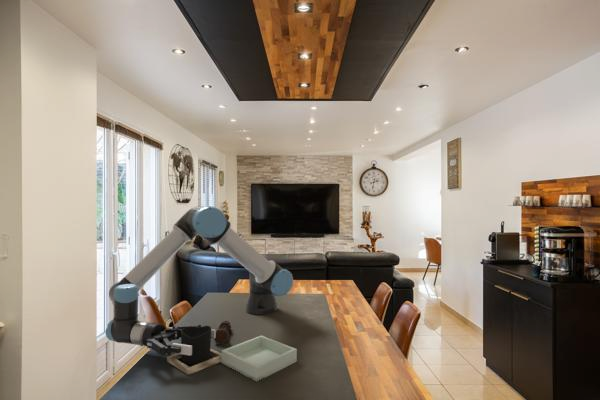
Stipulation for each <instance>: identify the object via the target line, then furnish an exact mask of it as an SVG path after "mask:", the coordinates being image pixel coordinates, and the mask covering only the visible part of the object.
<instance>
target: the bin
mask: <svg viewBox="0 0 600 400" xmlns="http://www.w3.org/2000/svg"><path fill="white" fill-rule="evenodd" d="M297 352H298V349H297V348H295V347H293V346H290V345H287V344H285V343H282V342H280V341H277V340H274V339H272V338H270V337H266V336H264V335H259V336H255V337H254V338H250V339H248V340H245V341H243V342H240V343H238V344H234V345H233V346H231V347H227V348H225V349H222V350H221V362H220V363H221V365H225V366H226V367H228V368H230V369H231V368H232V370H233V369H234V370H233V371H235V370H236V372H237V371H238V373H239V372H240V374H241V375H242V376H244V377H247V378H248V379H250V378H251V380H252V381H255V382H259V380H260V381H261V379H262V380H264V379H266V378H267V377H269V376H271V375H273V374H275V373H277V372H279V371H281V370H283V369H285V368H287V367H289V366H290V365H292V364H295V363H296V362H297V361H298V359H297V357H298V353H297ZM263 378H264V379H263Z"/></svg>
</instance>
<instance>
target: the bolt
mask: <svg viewBox="0 0 600 400" xmlns="http://www.w3.org/2000/svg"><path fill="white" fill-rule="evenodd" d="M231 329H232V325H231V322H230V321H228V320H224V321H222V322H220V325H219V327H218V328H217V329H216V338H213V340H214V342H215V343H216V344H219V345H221V344H223V343H224V344H226V343H227V341H228V340H229V338H230V334H229V332H230V331H231ZM224 344H223V345H224Z"/></svg>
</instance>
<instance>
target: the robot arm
mask: <svg viewBox="0 0 600 400" xmlns="http://www.w3.org/2000/svg"><path fill="white" fill-rule="evenodd" d="M231 224H232V223H231V222H230V221H229V220H228V219H227V218H226V215H225V214H224V212H222V210H220V208H218V207H215V206H209V205H206V206H201V205H200V206H199V205H198V206H193V207H191V208H190V209H189V210H187V211H185V212H184V214H182V216H181V217H180V218H179V219H178V220H177V221H176V223H174V224H173V225H172V229H171V231H170V232H168V233H167V234H166V236H164V238H162V240H161V241H159V243H157V244H156V245H155V246H154V247H153V248H152V250H150V251H149V252H148V253H147V254H146V255H145V256H144V257H143V258H142V259H141V260H140V261H139V262H138V263H137V264H136V265H135V266H134V267H133V268H132V269H131V270H130V271H129V272H128V273H127V274H126V275H124V277H122V278H121V279H120V281H118V282H115V283H114V284H112V286H110V288H109V291H108V298H109V300H110V301H111V304H112V306H113V319H111V320H110V321H109V322H108V324H107V328H105V336H106V338H107V339H108V340H110V341H111V342H116V343H119V344H120V343H121V344H128V345H129V344H131V345H137V346H140V347H143V346H144V347H146V348H147V349H152V350H153V351H154V352H156V353H157V354H158V355H160V356H161V357H164V356H166V357H167V356H171V355H172V353H173V354H176V353H177V354H183V355H190V356H191V355H192V346H191V345H184V344H181V343H176V342H173V343H171V342H172V341H176V340H179V339H181V330H182V329H183V328H185V327H188V326H193V327H202V324H194V325H193V324H189V325H172V328H166V327H165V325H163V324H162V323H159V322H151V321H143V320H138V319H139V313H138V311H139V296H140V294H139V291H140V290H141V289H142V288H143V287H144V286H145V285H146V284H147V282H149V281H150V280H151V279H152V278H153V277H154V275H156V274H157V273H158V272H159V270H160V269H162V267H163V266H164V265H165V264H166V263H167V262H168V261H170V259H171V258H172V257H173V256H174V255H176V253H177V252H178V251H179V250H180V249H181V248H182V247H183V246H184V245H185V244H186V243H187V242H192V241H193V240H194V238H196V237H197V236H200V237H201V239H203V240H205V242H207V243H208V244H209V245H211V246H214V245H217V246H218V247H219V248H220V249H222V250H223V251H224V252H225V253H226V254H227V255H229V256H230V257H231V258H233V259H234V260H235V261H237V263H239V264H240V265H241V266H242V267H244V269H246V270H247V271H248V272H249V277H248V278H249V280H248V281H249V294H248V296H247V300H246V304H245V312H247V313H248V314H252V315H268V314H269V315H270V314H273V313H275V312H277V310H278V303H277V299H276V297H283V296H286V295H287V294H288V293H289V292H290V291H291V290H292V287H293V285H294V277H293V274H292V272H291V271H289V270H288V269H287V268H282V267H281V265H279V264H278V263H277V262H275V260H273V259H272V260H268V259H267V258H265V256H263V255H262V254H261V253H260V252H259V251H258V250H257V249H256V248H254V247H253V246H252V245H251V244H250V243H248V242H247V241H246V240H245V239H244V238H243V237H241V235H239V233H237V232H236V231H235V230H233V229H232V228H231V227H232V225H231ZM275 296H276V297H275ZM216 331H217V329H213V328H211V339H214V338H216Z"/></svg>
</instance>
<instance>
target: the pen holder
mask: <svg viewBox="0 0 600 400" xmlns="http://www.w3.org/2000/svg"><path fill="white" fill-rule="evenodd" d="M187 326H188V325H187ZM211 329H212V327H211V326H210V325H203V326H201V327H193V326H188V327H185V328H183V329H182V330H181V337H180V344H184V345H191V346H192V355H191V356H190V355H183V354H182V358H181V362H182V363H184V364H186V365H187V366H189V367H192V366H194V365H197V364H199V363H202V362H204V361H207V360H209V359H211V356H210V348H211V345H212V344H211V342H212V338H211Z"/></svg>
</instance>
